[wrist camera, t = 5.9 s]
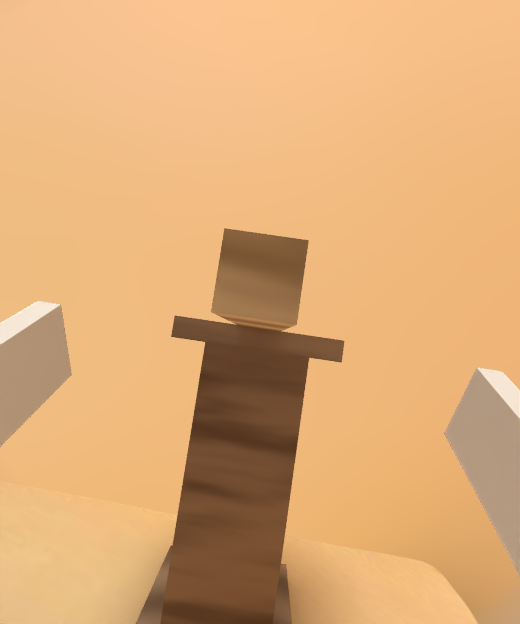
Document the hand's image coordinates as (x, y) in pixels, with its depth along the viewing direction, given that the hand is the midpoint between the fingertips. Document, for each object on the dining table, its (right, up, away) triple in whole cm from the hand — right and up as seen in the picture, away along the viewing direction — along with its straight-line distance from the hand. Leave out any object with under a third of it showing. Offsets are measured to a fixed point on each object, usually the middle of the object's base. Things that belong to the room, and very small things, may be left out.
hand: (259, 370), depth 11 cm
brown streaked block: (0, +1, +16) cm, 16 cm away
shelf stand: (-4, -28, +21) cm, 35 cm away
